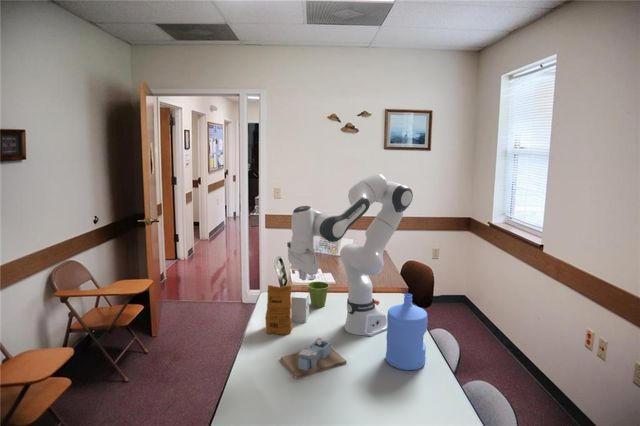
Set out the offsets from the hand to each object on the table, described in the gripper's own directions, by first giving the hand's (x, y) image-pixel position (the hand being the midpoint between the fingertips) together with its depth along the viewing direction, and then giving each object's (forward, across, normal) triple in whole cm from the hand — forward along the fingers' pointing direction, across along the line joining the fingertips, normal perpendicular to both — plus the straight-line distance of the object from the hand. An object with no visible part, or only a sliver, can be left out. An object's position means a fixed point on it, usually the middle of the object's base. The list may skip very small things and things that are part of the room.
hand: (302, 279), depth 177 cm
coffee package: (+31, +21, +2) cm, 38 cm away
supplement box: (+31, +27, -12) cm, 43 cm away
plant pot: (+31, +38, -28) cm, 57 cm away
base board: (+31, -11, +1) cm, 33 cm away
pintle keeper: (+30, -12, +2) cm, 32 cm away
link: (+30, -11, +1) cm, 32 cm away
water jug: (+31, -28, -32) cm, 53 cm away
